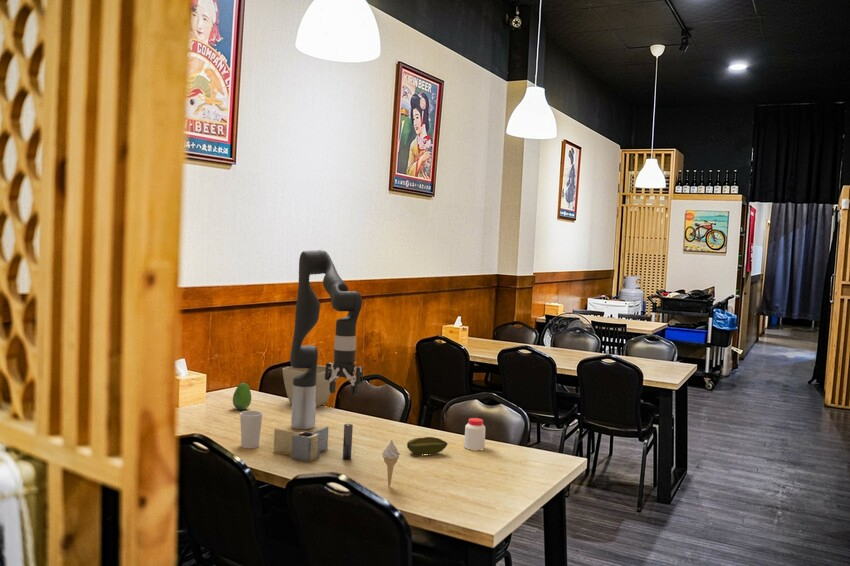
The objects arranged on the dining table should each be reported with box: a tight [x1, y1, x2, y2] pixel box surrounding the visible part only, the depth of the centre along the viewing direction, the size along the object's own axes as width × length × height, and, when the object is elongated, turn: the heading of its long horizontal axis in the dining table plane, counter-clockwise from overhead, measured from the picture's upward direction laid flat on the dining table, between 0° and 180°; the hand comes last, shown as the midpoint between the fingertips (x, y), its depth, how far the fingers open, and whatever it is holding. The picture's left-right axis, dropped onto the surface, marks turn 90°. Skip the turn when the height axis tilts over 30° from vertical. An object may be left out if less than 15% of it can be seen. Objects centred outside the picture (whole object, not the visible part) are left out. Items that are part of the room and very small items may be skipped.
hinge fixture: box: [273, 425, 329, 463], centre depth 251 cm, size 17×17×8 cm
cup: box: [239, 410, 263, 449], centre depth 256 cm, size 8×8×12 cm
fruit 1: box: [232, 382, 252, 411], centre depth 309 cm, size 8×8×12 cm
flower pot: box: [282, 364, 335, 408], centre depth 326 cm, size 19×19×17 cm
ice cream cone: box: [381, 439, 401, 487], centre depth 220 cm, size 6×6×15 cm
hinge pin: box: [342, 423, 354, 461], centre depth 247 cm, size 3×3×12 cm
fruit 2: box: [406, 436, 448, 456], centre depth 257 cm, size 11×12×7 cm
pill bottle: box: [463, 417, 486, 450], centre depth 268 cm, size 8×8×11 cm
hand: (342, 394), depth 245 cm, fingers open, 8 cm apart
